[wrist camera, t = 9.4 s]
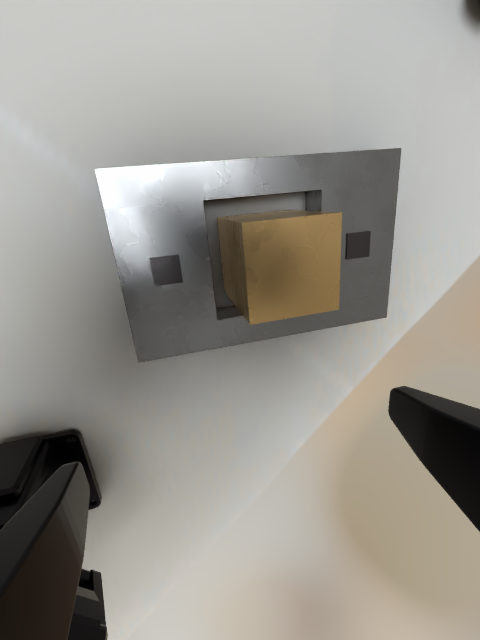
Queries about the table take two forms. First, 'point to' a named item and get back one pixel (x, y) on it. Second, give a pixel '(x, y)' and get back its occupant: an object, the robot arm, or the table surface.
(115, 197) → the grey slotted plate
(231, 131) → the table surface
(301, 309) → the wooden block
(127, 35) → the table surface
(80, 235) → the table surface
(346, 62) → the table surface
